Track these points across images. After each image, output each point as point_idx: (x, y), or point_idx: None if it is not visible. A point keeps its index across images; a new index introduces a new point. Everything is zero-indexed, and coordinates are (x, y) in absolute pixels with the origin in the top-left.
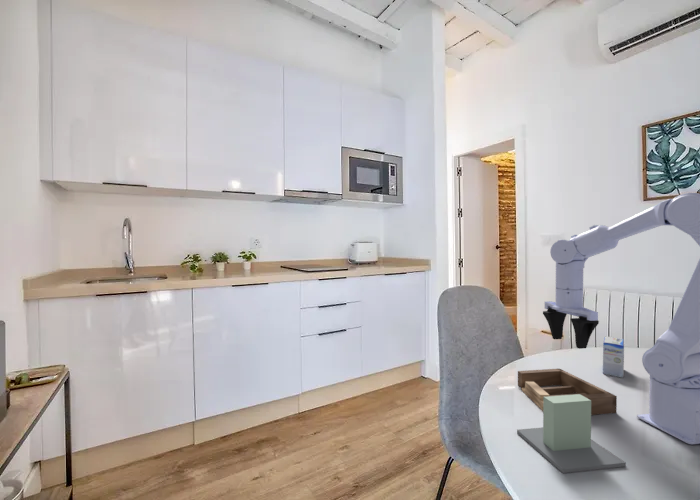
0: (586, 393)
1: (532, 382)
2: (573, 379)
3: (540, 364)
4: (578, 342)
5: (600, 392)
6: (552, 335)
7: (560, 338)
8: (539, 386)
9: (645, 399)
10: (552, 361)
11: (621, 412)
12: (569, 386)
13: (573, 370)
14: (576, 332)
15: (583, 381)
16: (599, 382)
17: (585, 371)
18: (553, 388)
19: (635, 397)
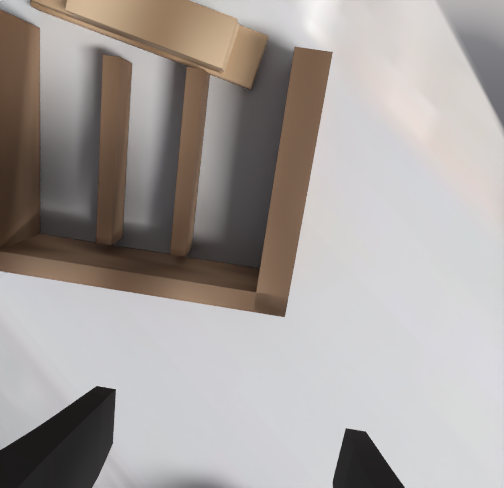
0: (114, 253)
1: (214, 51)
2: (174, 275)
3: (479, 387)
4: (62, 410)
5: (28, 253)
6: (369, 447)
7: (334, 477)
8: (162, 45)
9: None
10: (482, 466)
11: None
12: (179, 241)
13: None
14: (5, 470)
15: (119, 277)
16: (233, 431)
17: None
18: (180, 150)
19: None
